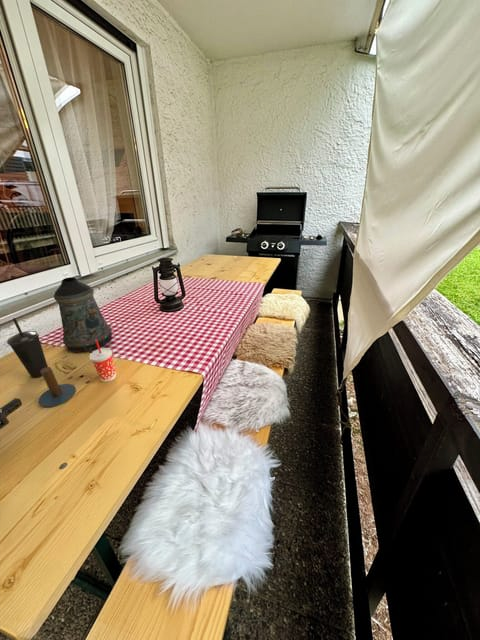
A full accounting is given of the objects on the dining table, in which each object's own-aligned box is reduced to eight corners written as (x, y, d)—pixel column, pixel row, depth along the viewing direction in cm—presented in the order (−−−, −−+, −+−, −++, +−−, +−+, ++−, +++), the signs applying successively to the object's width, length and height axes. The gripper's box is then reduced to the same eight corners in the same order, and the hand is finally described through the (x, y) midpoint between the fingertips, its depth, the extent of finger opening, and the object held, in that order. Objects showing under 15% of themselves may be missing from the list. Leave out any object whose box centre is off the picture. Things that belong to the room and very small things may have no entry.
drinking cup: (58, 370, 85) (35, 316, 76) (32, 384, 79) (4, 327, 70) (46, 363, 88) (22, 310, 79) (21, 375, 83) (-8, 321, 73)
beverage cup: (97, 374, 83) (84, 337, 76) (118, 368, 85) (107, 332, 79) (97, 386, 78) (83, 347, 71) (119, 380, 80) (107, 342, 74)
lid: (31, 403, 72) (16, 376, 68) (60, 382, 80) (49, 357, 75) (55, 411, 70) (42, 383, 65) (82, 388, 77) (72, 362, 73)
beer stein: (89, 357, 91) (66, 291, 79) (49, 348, 97) (22, 284, 85) (122, 334, 105) (106, 274, 93) (85, 327, 111) (66, 270, 99)
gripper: (-74, 454, 45) (22, 391, 58) (-119, 433, 49) (-20, 378, 62) (-51, 480, 48) (34, 414, 62) (-95, 458, 52) (-6, 401, 66)
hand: (7, 396), depth 62 cm, fingers open, 8 cm apart
